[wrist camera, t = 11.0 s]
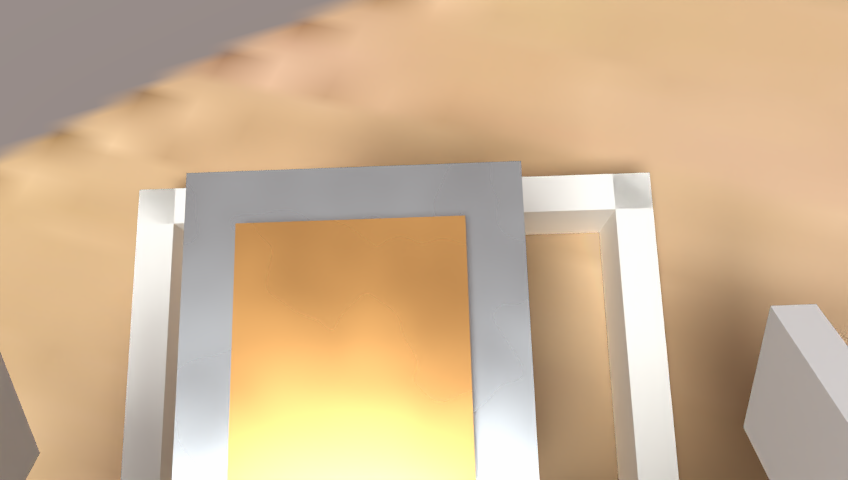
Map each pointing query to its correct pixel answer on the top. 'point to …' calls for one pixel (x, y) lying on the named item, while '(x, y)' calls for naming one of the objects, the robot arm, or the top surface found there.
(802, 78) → the top surface
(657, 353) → the dock
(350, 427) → the block
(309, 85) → the top surface
